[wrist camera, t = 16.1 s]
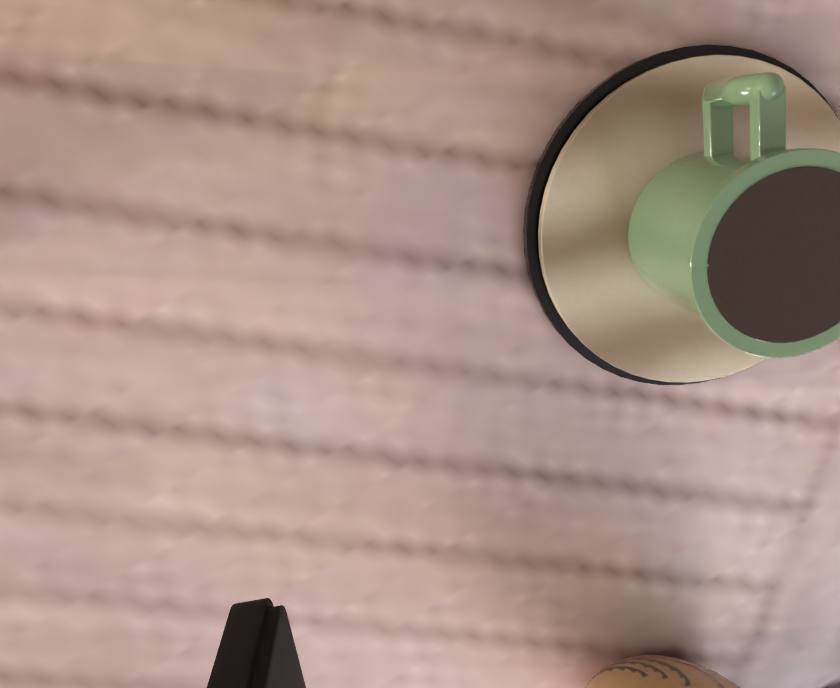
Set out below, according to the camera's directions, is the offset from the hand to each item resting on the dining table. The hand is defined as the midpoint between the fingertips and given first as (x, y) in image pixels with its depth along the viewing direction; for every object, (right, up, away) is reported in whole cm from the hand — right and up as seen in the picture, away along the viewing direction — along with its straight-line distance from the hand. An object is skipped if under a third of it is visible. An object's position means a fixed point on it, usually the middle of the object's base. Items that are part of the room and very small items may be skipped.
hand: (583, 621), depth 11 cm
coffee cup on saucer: (+10, +10, +22) cm, 26 cm away
